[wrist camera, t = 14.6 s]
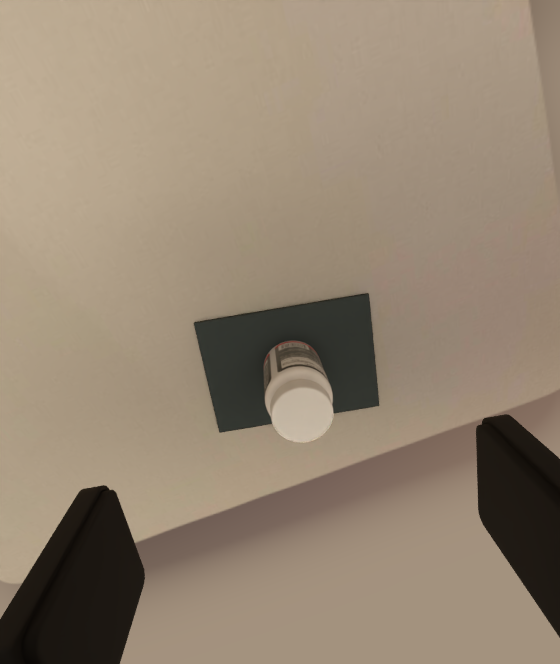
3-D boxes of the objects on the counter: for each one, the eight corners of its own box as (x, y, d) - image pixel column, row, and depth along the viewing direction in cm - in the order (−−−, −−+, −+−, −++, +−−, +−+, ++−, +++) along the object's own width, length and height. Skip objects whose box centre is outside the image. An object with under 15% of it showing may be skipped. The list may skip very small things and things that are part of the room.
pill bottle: (292, 402, 35) (302, 462, 27) (251, 368, 34) (249, 420, 26) (332, 364, 34) (355, 414, 26) (291, 327, 33) (302, 368, 25)
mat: (367, 293, 33) (369, 294, 32) (378, 403, 36) (379, 405, 35) (194, 322, 33) (193, 323, 32) (219, 430, 36) (219, 432, 35)
